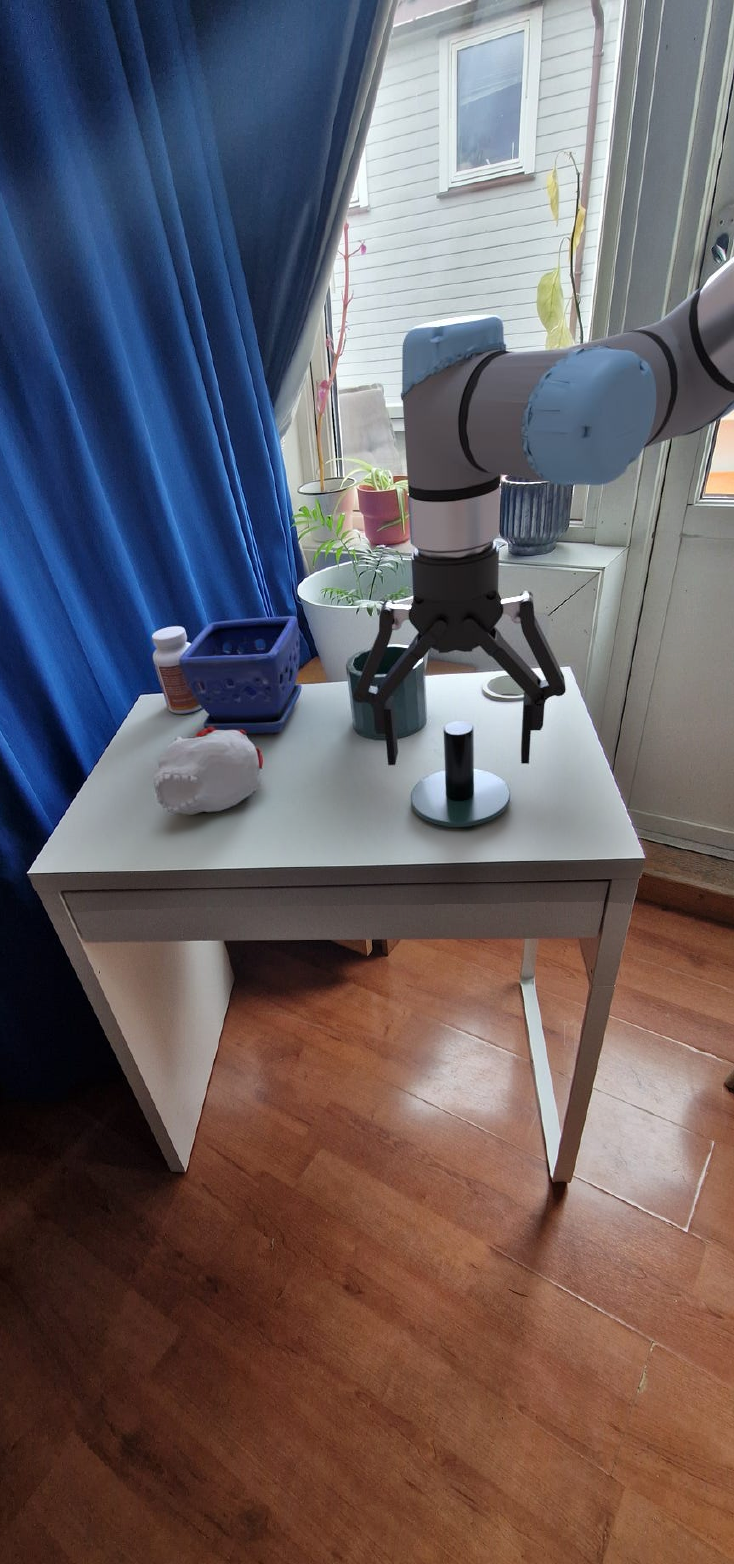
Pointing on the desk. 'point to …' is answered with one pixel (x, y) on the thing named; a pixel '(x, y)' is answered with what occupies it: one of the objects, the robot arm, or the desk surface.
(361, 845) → the desk surface
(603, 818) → the desk surface
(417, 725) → the pot
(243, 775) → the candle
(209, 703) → the flower pot
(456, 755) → the lid
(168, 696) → the pill bottle
